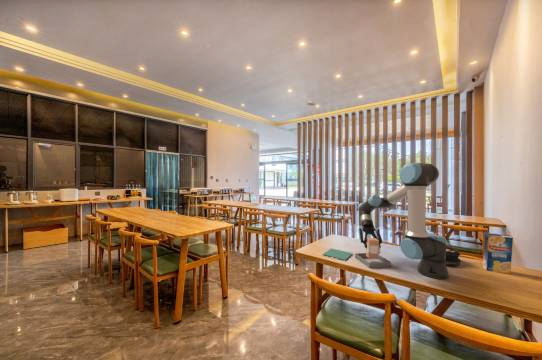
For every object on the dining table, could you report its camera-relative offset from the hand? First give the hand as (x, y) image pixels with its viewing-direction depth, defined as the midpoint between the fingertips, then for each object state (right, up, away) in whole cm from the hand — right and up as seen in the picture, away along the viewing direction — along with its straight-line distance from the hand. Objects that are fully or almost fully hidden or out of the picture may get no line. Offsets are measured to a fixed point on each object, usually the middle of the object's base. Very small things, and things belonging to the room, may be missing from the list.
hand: (374, 252), depth 150 cm
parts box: (0, -4, +4) cm, 6 cm away
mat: (-19, -6, +16) cm, 25 cm away
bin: (0, -7, +3) cm, 8 cm away
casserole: (+52, -9, +10) cm, 54 cm away
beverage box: (+74, -9, -5) cm, 74 cm away
